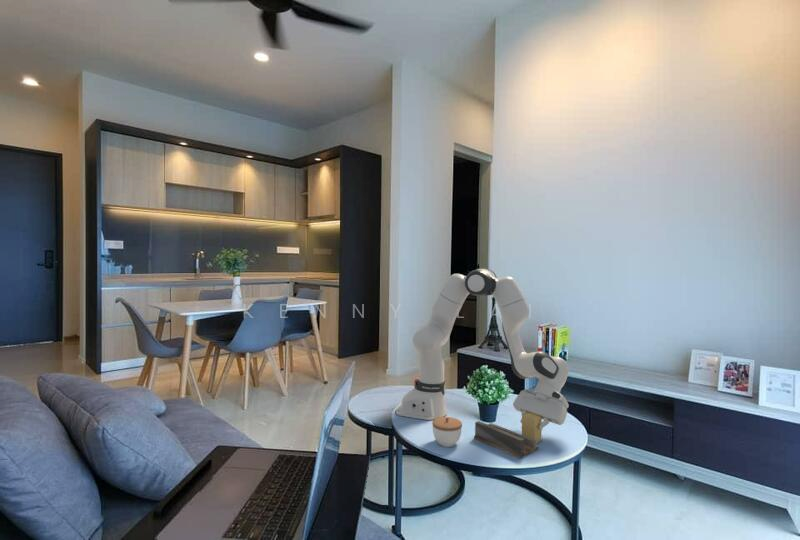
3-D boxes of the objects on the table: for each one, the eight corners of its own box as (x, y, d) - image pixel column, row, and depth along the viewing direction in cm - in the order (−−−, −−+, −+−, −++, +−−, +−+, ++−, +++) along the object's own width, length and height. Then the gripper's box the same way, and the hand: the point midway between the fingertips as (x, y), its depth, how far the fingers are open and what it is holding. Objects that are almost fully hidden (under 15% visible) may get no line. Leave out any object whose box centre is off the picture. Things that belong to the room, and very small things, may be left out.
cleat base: (492, 431, 159) (492, 415, 159) (538, 449, 144) (538, 432, 144) (474, 438, 152) (474, 422, 152) (519, 458, 137) (520, 441, 137)
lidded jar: (455, 452, 141) (455, 425, 141) (427, 445, 146) (427, 419, 146) (465, 440, 150) (466, 415, 150) (439, 434, 155) (439, 410, 155)
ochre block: (528, 435, 156) (528, 412, 155) (541, 440, 151) (541, 416, 151) (521, 438, 153) (522, 414, 153) (534, 443, 149) (535, 419, 148)
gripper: (519, 384, 164) (504, 413, 158) (567, 397, 148) (552, 430, 142) (525, 392, 167) (510, 421, 161) (573, 406, 151) (558, 439, 145)
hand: (530, 426), depth 152 cm, fingers closed on ochre block, 5 cm apart
